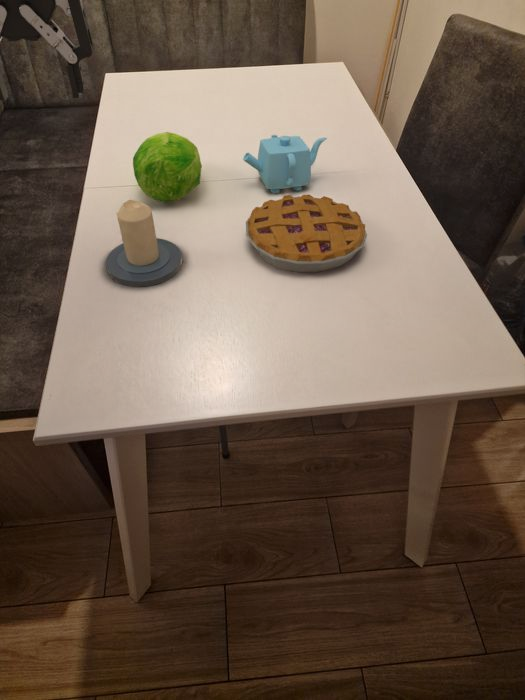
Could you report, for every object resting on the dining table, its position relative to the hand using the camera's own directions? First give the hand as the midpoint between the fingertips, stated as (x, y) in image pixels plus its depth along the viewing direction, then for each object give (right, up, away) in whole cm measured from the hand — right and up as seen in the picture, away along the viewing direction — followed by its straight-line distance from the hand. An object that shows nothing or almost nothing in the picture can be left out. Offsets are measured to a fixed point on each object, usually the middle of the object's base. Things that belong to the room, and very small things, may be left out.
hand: (41, 97), depth 58 cm
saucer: (+6, -15, +26) cm, 31 cm away
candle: (+6, -15, +25) cm, 30 cm away
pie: (+35, -11, +31) cm, 48 cm away
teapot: (+31, +6, +48) cm, 58 cm away
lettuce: (+7, +4, +46) cm, 46 cm away
